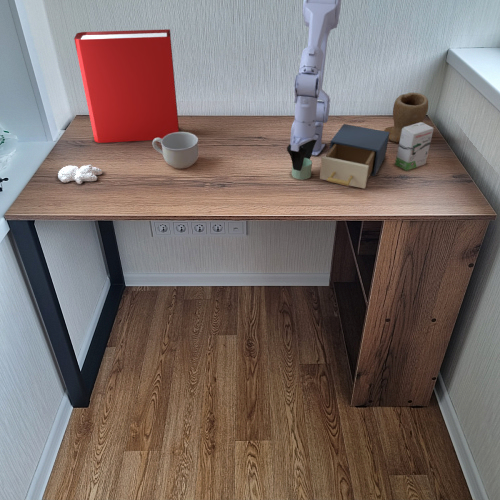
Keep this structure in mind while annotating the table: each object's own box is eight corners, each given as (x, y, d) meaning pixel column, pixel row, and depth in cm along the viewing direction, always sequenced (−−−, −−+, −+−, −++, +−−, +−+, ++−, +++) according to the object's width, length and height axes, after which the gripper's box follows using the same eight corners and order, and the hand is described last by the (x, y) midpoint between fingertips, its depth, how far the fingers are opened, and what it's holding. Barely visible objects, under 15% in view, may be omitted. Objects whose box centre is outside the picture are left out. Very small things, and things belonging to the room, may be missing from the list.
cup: (288, 177, 146) (289, 164, 144) (295, 168, 151) (296, 155, 148) (307, 181, 145) (308, 168, 142) (313, 172, 149) (314, 159, 146)
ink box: (406, 171, 149) (414, 134, 142) (393, 164, 153) (401, 127, 145) (426, 163, 153) (435, 127, 146) (413, 157, 156) (421, 121, 149)
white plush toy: (92, 186, 142) (90, 176, 141) (53, 181, 144) (50, 172, 142) (105, 171, 149) (103, 161, 147) (67, 167, 151) (65, 158, 149)
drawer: (360, 197, 136) (363, 175, 132) (314, 186, 141) (316, 165, 137) (375, 169, 149) (378, 148, 145) (332, 160, 153) (335, 140, 149)
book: (178, 128, 173) (169, 29, 154) (179, 138, 167) (169, 36, 147) (97, 132, 170) (77, 32, 151) (94, 143, 164) (73, 39, 145)
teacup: (206, 160, 155) (204, 135, 150) (188, 175, 147) (185, 150, 142) (167, 151, 159) (164, 127, 155) (147, 166, 152) (144, 141, 147)
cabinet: (374, 176, 147) (379, 150, 142) (327, 166, 152) (330, 140, 147) (385, 156, 157) (389, 132, 152) (340, 148, 161) (343, 123, 156)
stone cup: (389, 148, 161) (398, 102, 152) (380, 132, 171) (387, 88, 162) (436, 147, 162) (447, 101, 153) (424, 131, 171) (434, 87, 162)
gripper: (310, 131, 131) (306, 178, 139) (327, 111, 141) (323, 156, 149) (284, 126, 133) (282, 172, 141) (303, 107, 143) (300, 151, 152)
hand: (301, 163), depth 145 cm, fingers open, 7 cm apart
